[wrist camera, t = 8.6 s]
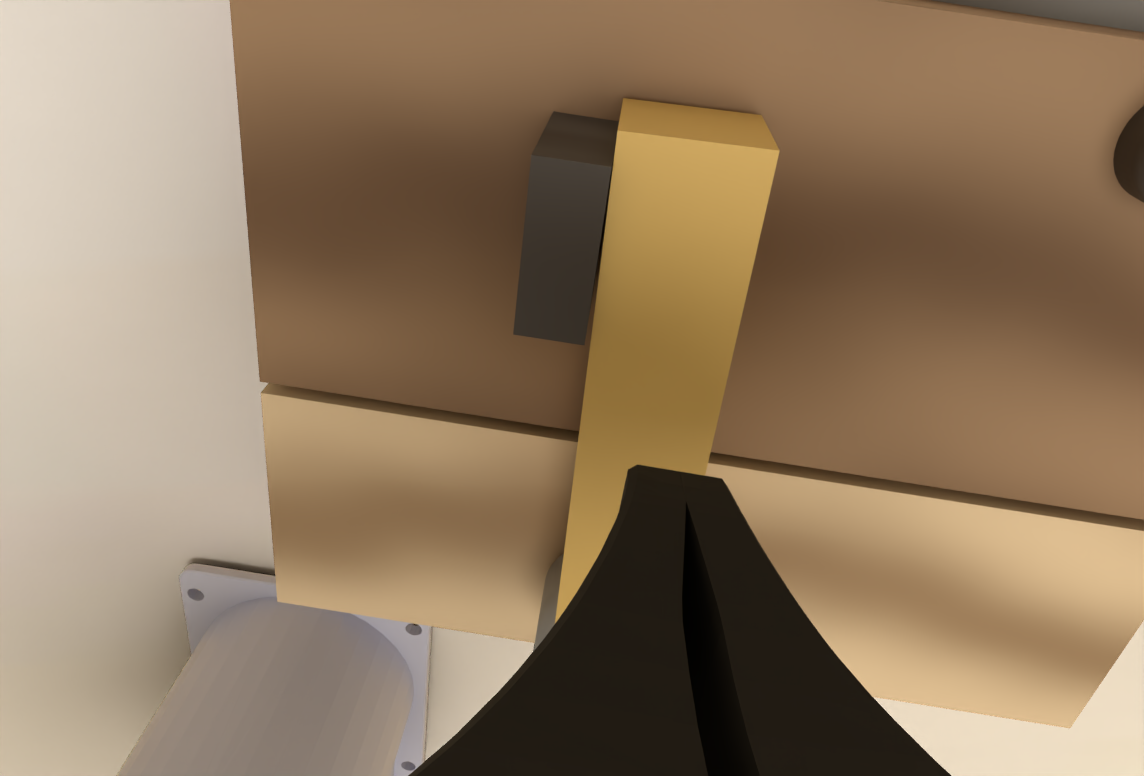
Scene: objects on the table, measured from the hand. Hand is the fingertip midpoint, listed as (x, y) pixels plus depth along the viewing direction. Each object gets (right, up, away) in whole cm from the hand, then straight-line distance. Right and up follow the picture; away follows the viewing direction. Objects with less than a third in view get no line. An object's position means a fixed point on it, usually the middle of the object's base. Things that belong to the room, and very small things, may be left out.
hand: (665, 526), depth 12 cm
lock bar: (0, +1, +6) cm, 6 cm away
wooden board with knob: (+3, +3, +9) cm, 10 cm away
